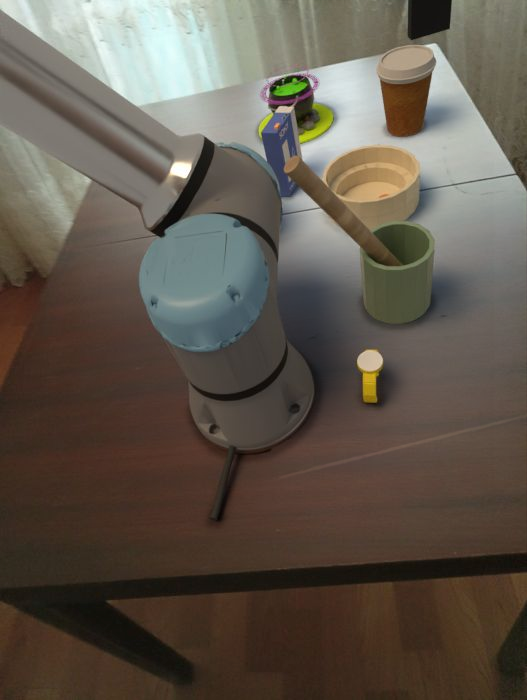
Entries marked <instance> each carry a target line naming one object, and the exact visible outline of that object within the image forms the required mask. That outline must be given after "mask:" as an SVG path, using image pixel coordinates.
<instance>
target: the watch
mask: <svg viewBox="0 0 527 700" xmlns="http://www.w3.org/2000/svg"><path fill="white" fill-rule="evenodd" d="M356 365H357V366H356V367H357V369H358V371H360V372H361V373H362V398H363V402H364V403H371V404H374V403H375V404H377V402H378V397H377V377H379V375H380V373H379V372H381V370H382V369H383V367H384V358H383V356H382V355H381V354H380V352H379V350H378V349H365V350H364V351H362V353H360V354H359V355H358V357H357V359H356Z"/></svg>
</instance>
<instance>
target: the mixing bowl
mask: <svg viewBox="0 0 527 700" xmlns="http://www.w3.org/2000/svg"><path fill="white" fill-rule="evenodd" d="M420 165H421V163H420V161H419V160H418V158H417V157H416V156H415V155H414V154H413V153H411V152H410V151H408V150H407V149H405V148H401V147H398V146H394V145H390V144H389V145H387V144H373V145H364V146H360V147H357V148H353V149H350V150H348V151H346V152H343V153H342V154H340V155H338V156H336V157H335V158H334V159H332V161H330V162H329V163H328V164H327V165H326V168H325V169H324V170H323V172H322V178H321V180H322V181H323V182H324V183H325V184H326V185H327V186H328V187H329V188H330V189H331V190H332V191H333V192H334V193H335V194H336V196H337V197H338V198H339V199H340V200H341V201H342V202H343V203H344V204H345V205H346V206H347V207H348V208H349V209H350V210H351V211H352V212H353V213H354V214H355V215H356V216H357V217H358V218H359V220H360V221H361V222H362V223H363V224H364V225H365V226H366V227H367V228H368V229H369V230H371V229H373V228H375V227H376V226H378V225H381V224H384V223H388V222H392V221H407V220H408V219H409V218H410V217H411V216H412V215H413V214H414V213H415V212H416V209H417V208H418V205H419V203H420V185H421V184H420V181H421V180H420V179H421V166H420ZM384 194H388V196H384V197H381V198H379V197H380V196H382V195H384ZM328 219H330V221H332V222H333V223H334V224H335V225H336V226H338V227H340V226H339V225H338V224H337V223H336V222H335V221H334V220H333V219H332V218H331V217H330V216H328Z"/></svg>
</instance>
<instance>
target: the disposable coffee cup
mask: <svg viewBox="0 0 527 700" xmlns="http://www.w3.org/2000/svg"><path fill="white" fill-rule="evenodd" d="M436 65H437V59H436V57H435V52H434V50H433V49H432V48H430V47H429V46H425V45H421V44H408V45H403V46H402V45H401V46H397V47H394V48H392V49H389V50H388V51H386V52H384V53H383V54H382V55H381V56H380V57H379V60H378V64H377V66H376V69H375V70H376V74H377V77H378V79H379V83H380V90H381V97H382V103H383V111H384V116H385V117H384V118H385V124H386V130H387V132H388V133H389V134H391V135H392V136H395V137H410V136H413V135H416V134H417V133H419V132H420V131H421V130H422V129H423V127H424V123H425V117H426V111H427V106H428V101H429V95H430V89H431V83H432V76H433V72H434V70H435V68H436Z"/></svg>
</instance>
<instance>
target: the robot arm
mask: <svg viewBox="0 0 527 700" xmlns="http://www.w3.org/2000/svg"><path fill="white" fill-rule="evenodd" d="M452 4H453V0H407V38H408V39H409V40H410V41H414V40H417V39H421V38H424V37H428V36H430V35H435V34H436V33H441V32H445V31H448V30H450V29H451V19H452V18H451V17H452V6H453V5H452ZM0 126H1V127H4V128H5V129H6V130H8V131H10V132H12V133H13V134H14V135H16V136H18V137H20V138H22V139H23V140H25V141H27V143H28V142H29V144H31V145H33V146H35V147H37V148H38V149H40V150H42V151H43V152H45V153H46V154H48V155H50V156H52V157H53V158H55V159H56V160H58V161H60V162H61V163H63V164H64V165H66V166H68V167H70V168H71V169H73V170H75V171H76V172H78V173H80V174H81V175H82V176H84V177H86V178H88V179H89V180H91V181H93V182H94V183H96V184H98V185H99V186H101V187H103V188H104V189H106V190H108V191H109V192H111V193H112V194H114V195H116V196H118V197H119V198H120V199H122V200H124V201H126V202H128V203H129V204H131V205H132V206H134V207H136V208H137V210H138V211H139V213H140V217H141V220H142V223H143V226H144V229H145V230H146V231H148V232H150V233H152V234H154V235H155V236H157V237H156V238H154V240H153V241H152V242H151V243H150V245H149V247H148V248H147V250H146V252H145V253H144V256H143V258H142V260H141V264H140V267H139V273H138V288H139V292H140V296H141V299H142V301H143V303H144V305H145V307H146V309H145V310H146V313H147V314H148V317H149V319H150V321H151V323H152V326H153V327H154V328H155V330H156V331H157V333H159V334H160V336H161V337H162V339H163V340H164V342H165V344H166V345H167V347H168V349H169V350H170V352H171V354H172V355H173V357H174V359H175V360H176V362H177V364H178V366H179V367H180V369H181V370H182V372H183V374H184V376H185V378H186V379H187V382H188V401H189V402H188V405H189V410H190V413H191V416H192V419H193V421H194V424H195V426H196V427H197V429H198V430H199V432H200V433H201V435H202V436H203V437H204V438H205V439H206V440H207V441H208V442H209V443H210V444H212V445H214V446H215V447H216V448H219V449H221V450H223V451H225V452H226V457H225V461H224V464H223V468H222V472H221V476H220V479H219V483H218V486H217V487H218V488H217V492H216V496H215V500H214V503H213V506H212V509H211V513H210V516H209V519H210V520H212V521H218V520H219V519H218V518H219V515H220V512H221V510H222V509H221V508H222V505H223V502H224V497H225V493H226V489H227V485H228V482H229V478H230V473H231V469H232V465H233V461H234V458H235V454H240V455H241V454H244V455H250V454H257V453H263V452H266V451H269V450H272V448H275V447H276V446H278V445H280V444H282V443H284V442H285V441H286V440H288V439H290V438H291V437H292V436H293V435H294V434H296V433H297V432H298V431H299V429H300V428H301V427H302V426H303V425H304V423H305V422H306V421H307V419H308V417H309V415H310V414H311V411H312V408H313V406H314V402H315V394H316V393H315V391H316V390H315V384H314V382H315V381H314V378H313V374H312V371H311V368H310V366H309V365H308V363H307V361H306V360H305V358H304V356H303V355H302V354H301V353H300V352H299V351H298V350H297V349H296V348H295V346H293V345H292V344H291V342H290V341H288V339H287V337H286V334H285V329H284V326H283V322H282V319H281V315H280V312H279V307H278V298H277V297H278V296H277V289H278V269H279V268H278V267H279V266H278V265H279V254H280V253H279V252H280V235H281V233H280V232H281V225H282V220H283V201H282V196H281V194H280V187H279V183H278V179H277V177H276V175H275V173H274V171H273V169H272V168H271V166H270V165H269V163H268V162H267V159H265V158H264V157H263V156H262V155H261V154H260V153H259V152H257V151H256V150H254V149H253V148H251V147H248V146H247V145H244V144H241V143H238V142H230V143H224V142H220V141H219V142H213V141H212V140H211V139H209V138H208V137H207V136H205V135H204V134H202V133H200V132H197V133H191V134H186V135H179V134H176V133H175V132H174V131H172V130H170V128H169V127H167V126H165V125H163V123H161V122H160V121H158V120H156V119H155V118H154V117H153V116H151V115H150V114H148V113H147V112H145V111H144V110H142V109H141V108H140V107H139V106H137V105H135V104H134V103H133V102H132V101H130V100H129V99H127V98H125V97H124V96H123V95H121V94H120V93H119V92H117V91H116V90H114V89H113V88H111V86H108V85H107V84H106V83H104V82H103V81H102V80H100V79H99V78H97V76H94V75H93V74H92V73H90V72H89V71H88V70H86V69H85V68H83V66H80V65H79V64H77V62H75V61H74V60H72V59H70V58H69V57H68V56H67V55H65V54H64V53H62V52H61V51H59V50H58V49H56V47H54V46H53V45H51V44H50V43H48V42H47V41H46V40H44V39H43V38H41V37H40V36H38V35H37V34H36V33H34V32H33V31H32V30H30V29H29V28H27V27H26V26H25V25H23V24H21V23H20V22H19V21H17V20H16V19H15V18H13V17H12V16H10V14H8V13H6V11H3V10H2V9H0Z"/></svg>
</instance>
